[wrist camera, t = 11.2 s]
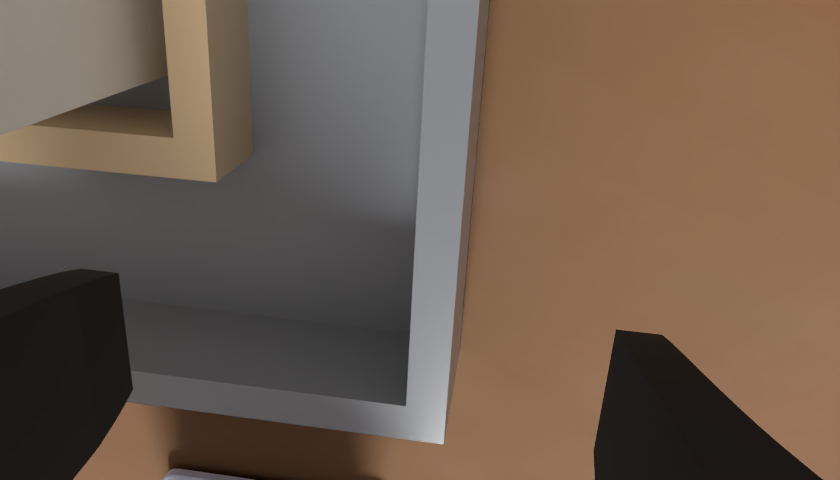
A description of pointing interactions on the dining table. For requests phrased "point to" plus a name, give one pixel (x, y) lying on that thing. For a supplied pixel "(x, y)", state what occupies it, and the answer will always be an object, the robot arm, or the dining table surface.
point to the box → (274, 209)
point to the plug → (74, 54)
